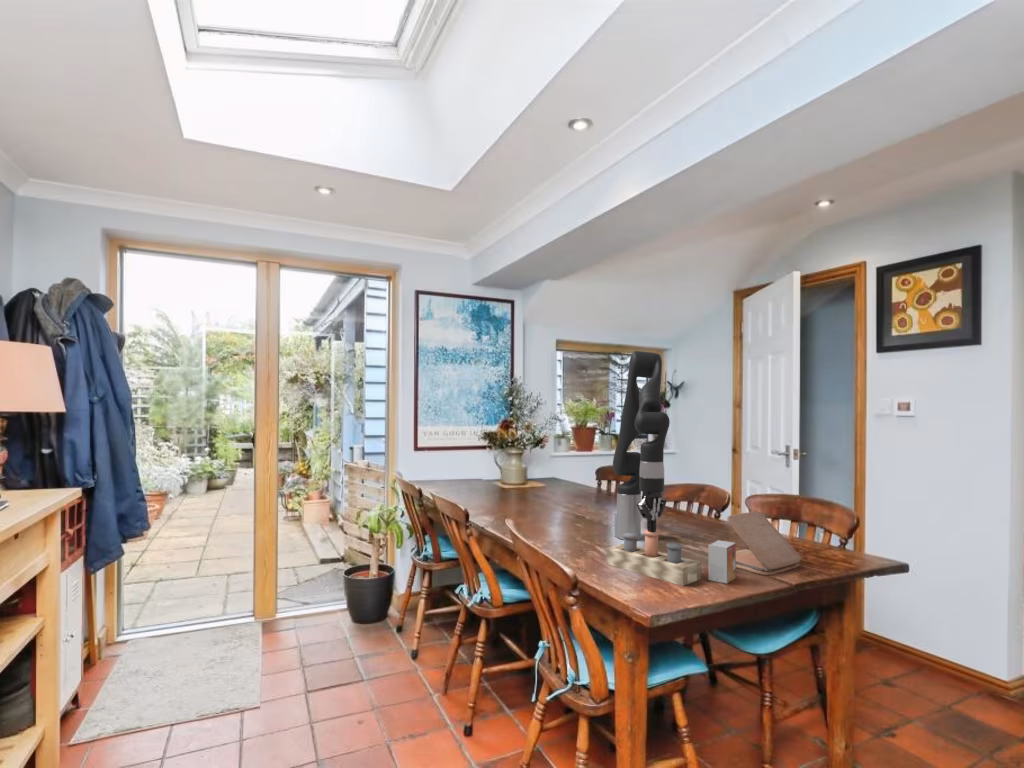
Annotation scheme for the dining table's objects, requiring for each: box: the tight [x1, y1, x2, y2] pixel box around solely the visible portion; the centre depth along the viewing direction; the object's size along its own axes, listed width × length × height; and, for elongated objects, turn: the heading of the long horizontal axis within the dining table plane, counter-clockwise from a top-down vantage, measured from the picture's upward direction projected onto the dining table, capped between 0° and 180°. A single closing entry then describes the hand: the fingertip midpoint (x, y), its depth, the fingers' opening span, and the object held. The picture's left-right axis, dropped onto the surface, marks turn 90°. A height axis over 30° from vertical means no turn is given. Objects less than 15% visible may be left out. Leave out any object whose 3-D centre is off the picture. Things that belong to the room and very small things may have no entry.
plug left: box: [623, 533, 638, 552], centre depth 177 cm, size 5×5×10 cm
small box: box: [707, 539, 737, 585], centre depth 164 cm, size 8×6×10 cm
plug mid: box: [643, 529, 660, 558], centre depth 171 cm, size 5×5×10 cm
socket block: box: [605, 543, 702, 587], centre depth 171 cm, size 28×10×5 cm, turn 41°
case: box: [726, 511, 802, 577], centre depth 181 cm, size 20×21×16 cm
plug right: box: [665, 542, 683, 564], centre depth 165 cm, size 5×5×10 cm
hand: (651, 531), depth 171 cm, fingers closed
